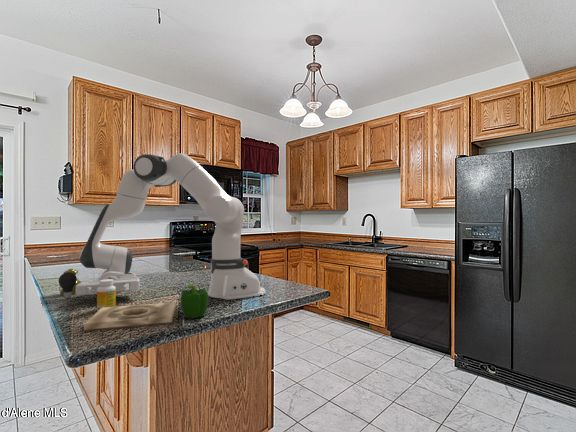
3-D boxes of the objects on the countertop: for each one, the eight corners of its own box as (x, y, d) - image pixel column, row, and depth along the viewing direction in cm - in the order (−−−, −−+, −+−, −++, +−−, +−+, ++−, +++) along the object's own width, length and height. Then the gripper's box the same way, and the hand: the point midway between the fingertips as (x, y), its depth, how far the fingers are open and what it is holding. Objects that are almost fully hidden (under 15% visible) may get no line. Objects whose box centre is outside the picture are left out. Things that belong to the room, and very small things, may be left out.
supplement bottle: (107, 312, 101) (107, 282, 101) (92, 311, 102) (92, 281, 102) (119, 307, 106) (119, 279, 106) (105, 307, 107) (105, 278, 107)
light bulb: (64, 297, 121) (64, 271, 121) (79, 296, 122) (79, 270, 122) (55, 301, 115) (55, 273, 116) (71, 300, 116) (71, 273, 116)
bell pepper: (197, 310, 102) (197, 280, 102) (213, 315, 97) (213, 283, 97) (174, 317, 96) (174, 284, 96) (189, 322, 91) (189, 287, 91)
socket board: (175, 308, 105) (175, 302, 105) (171, 323, 90) (171, 316, 90) (101, 313, 99) (101, 307, 99) (84, 331, 84) (84, 323, 84)
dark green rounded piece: (54, 295, 124) (54, 270, 124) (71, 291, 131) (71, 267, 131) (69, 296, 122) (70, 270, 122) (86, 292, 129) (86, 267, 129)
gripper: (78, 277, 116) (71, 284, 104) (139, 272, 125) (140, 278, 113) (78, 294, 116) (71, 303, 104) (139, 288, 125) (140, 296, 113)
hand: (107, 290), depth 108 cm, fingers open, 8 cm apart
